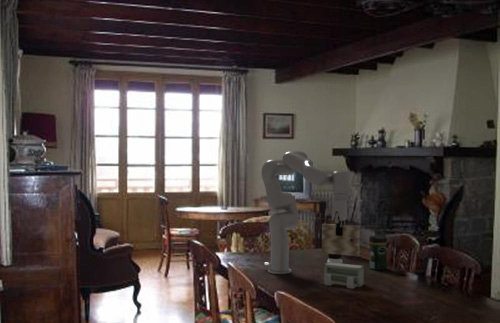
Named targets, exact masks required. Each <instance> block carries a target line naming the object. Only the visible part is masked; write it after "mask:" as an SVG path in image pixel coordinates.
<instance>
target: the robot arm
mask: <svg viewBox="0 0 500 323" xmlns="http://www.w3.org/2000/svg"><path fill="white" fill-rule="evenodd" d="M296 172H297V173H299V174H301V175H302V177H303V178H304V179H305V180H306V181H307V182H309V183H311V184H313V185H316V186H318V187H323V186H325V187H326V186H328V187H329V186H332V193H331V194H332V196H331V197H332V205H331V206H332V209H331V211H332V212H331V221H334V224H336V236H342V235H343V227H342V225H346V220H347V219H348V201H349V172H348V171H346V170H345V171H344V170H332V169H328V170H327V169H325V170H324V169H322V170H320V169H317V168H315V167H314V162H313V160H312V159H309V157H308V155H307V154H306V153H305V152H304V151H300V150H299V151H298V150H296V151H293V150H290V151H287V152H285V153H284V154H283V155H282V159H269V160H267V161H266V162H265V163H264V164H263V165H262V167H261V178H262V181H263V184H264V188H265V194H266V199H267V203H268V208H269V209H271V210H272V211H280V212H275V213H273V214H271V216H270V217H269V220H268V225H269V231H270V262H266V261H265V262H264V263H263V264H264V267H266V268H267V273H270V274H273V275H286V274H290V273H292V269H291V268H289V261H290V260H289V257H290V254H289V250H290V249H289V246H290V245H289V235H288V232H287V231H288V230H293V229H296V228H297V227H298V226H299V222H300V218H299V213H298V209H297V203H296V199H295V197H294V195H293V194H292V193H290V192H287V191H284V192H283V190H282V185H281V182H280V180H279V179H278V178H277V176H289V175H291V174H293V173H296ZM281 211H282V212H281Z"/></svg>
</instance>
